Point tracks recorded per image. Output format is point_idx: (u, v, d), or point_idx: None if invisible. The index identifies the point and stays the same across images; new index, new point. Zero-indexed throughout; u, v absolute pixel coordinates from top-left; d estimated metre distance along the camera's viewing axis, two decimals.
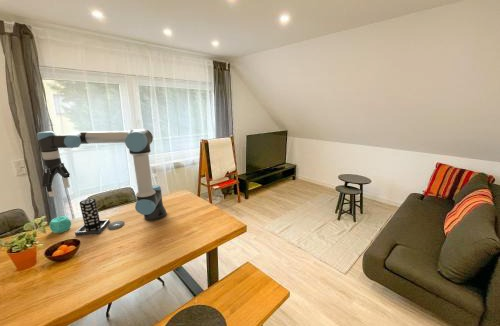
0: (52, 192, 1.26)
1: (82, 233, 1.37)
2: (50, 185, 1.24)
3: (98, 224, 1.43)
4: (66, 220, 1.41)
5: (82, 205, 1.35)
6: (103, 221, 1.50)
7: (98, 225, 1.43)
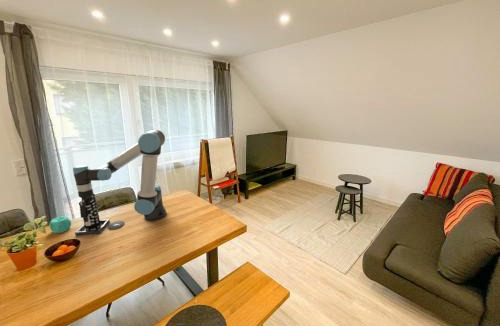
0: (88, 222, 1.38)
1: (82, 233, 1.37)
2: (87, 216, 1.36)
3: (98, 224, 1.43)
4: (66, 220, 1.41)
5: None
6: (103, 221, 1.50)
7: (98, 225, 1.43)
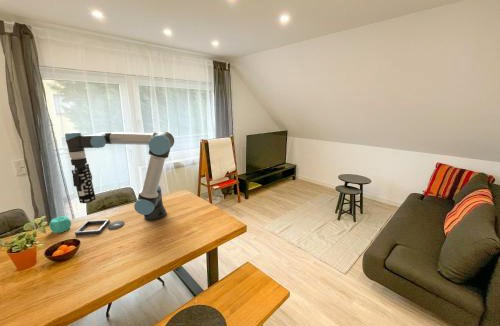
0: (82, 192, 1.32)
1: (82, 233, 1.37)
2: (80, 185, 1.30)
3: (92, 195, 1.37)
4: (66, 220, 1.41)
5: None
6: (103, 221, 1.50)
7: (92, 196, 1.37)
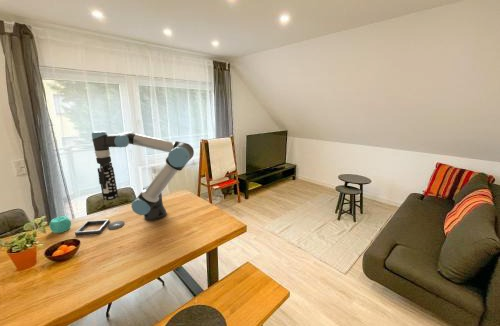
0: (106, 189, 1.36)
1: (82, 233, 1.37)
2: (105, 183, 1.34)
3: (115, 193, 1.41)
4: (66, 220, 1.41)
5: None
6: (103, 221, 1.50)
7: (115, 194, 1.41)
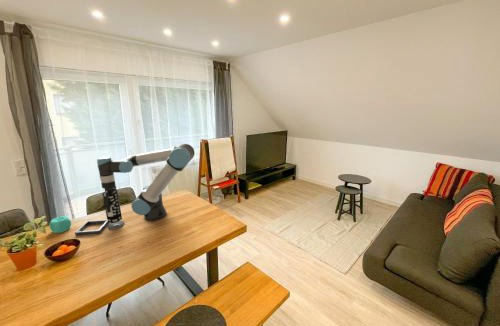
0: (111, 212, 1.40)
1: (82, 233, 1.37)
2: (110, 207, 1.39)
3: (119, 215, 1.46)
4: (66, 220, 1.41)
5: None
6: (103, 221, 1.50)
7: (119, 216, 1.46)
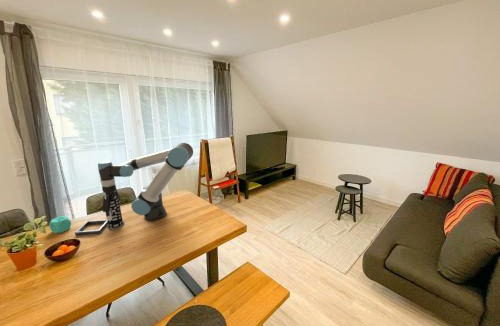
0: (110, 216, 1.39)
1: (82, 233, 1.37)
2: (109, 210, 1.37)
3: (120, 220, 1.47)
4: (66, 220, 1.41)
5: None
6: (103, 221, 1.50)
7: (120, 221, 1.47)
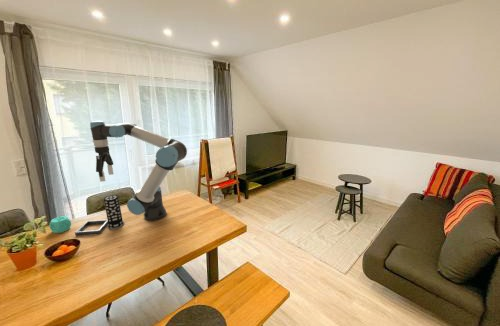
0: (103, 177, 1.36)
1: (82, 233, 1.37)
2: (102, 170, 1.34)
3: (120, 220, 1.47)
4: (66, 220, 1.41)
5: (106, 201, 1.39)
6: (103, 221, 1.50)
7: (120, 221, 1.47)
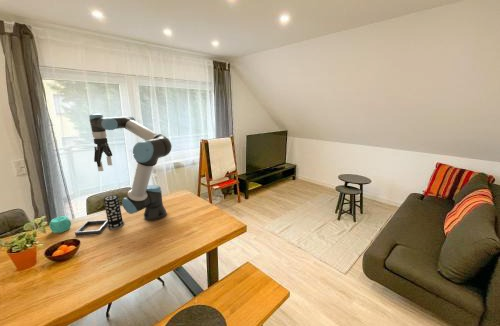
0: (101, 167, 1.44)
1: (82, 233, 1.37)
2: (100, 161, 1.42)
3: (120, 220, 1.47)
4: (66, 220, 1.41)
5: (106, 201, 1.39)
6: (103, 221, 1.50)
7: (120, 221, 1.47)
